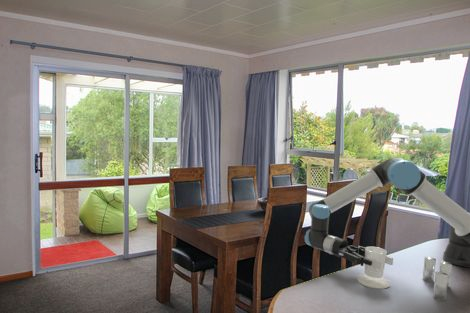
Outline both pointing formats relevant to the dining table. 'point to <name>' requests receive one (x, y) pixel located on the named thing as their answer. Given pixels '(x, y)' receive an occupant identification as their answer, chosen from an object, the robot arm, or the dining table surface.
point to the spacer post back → (446, 270)
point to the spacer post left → (429, 269)
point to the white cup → (379, 256)
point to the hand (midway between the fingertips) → (386, 263)
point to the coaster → (373, 282)
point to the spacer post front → (440, 286)
